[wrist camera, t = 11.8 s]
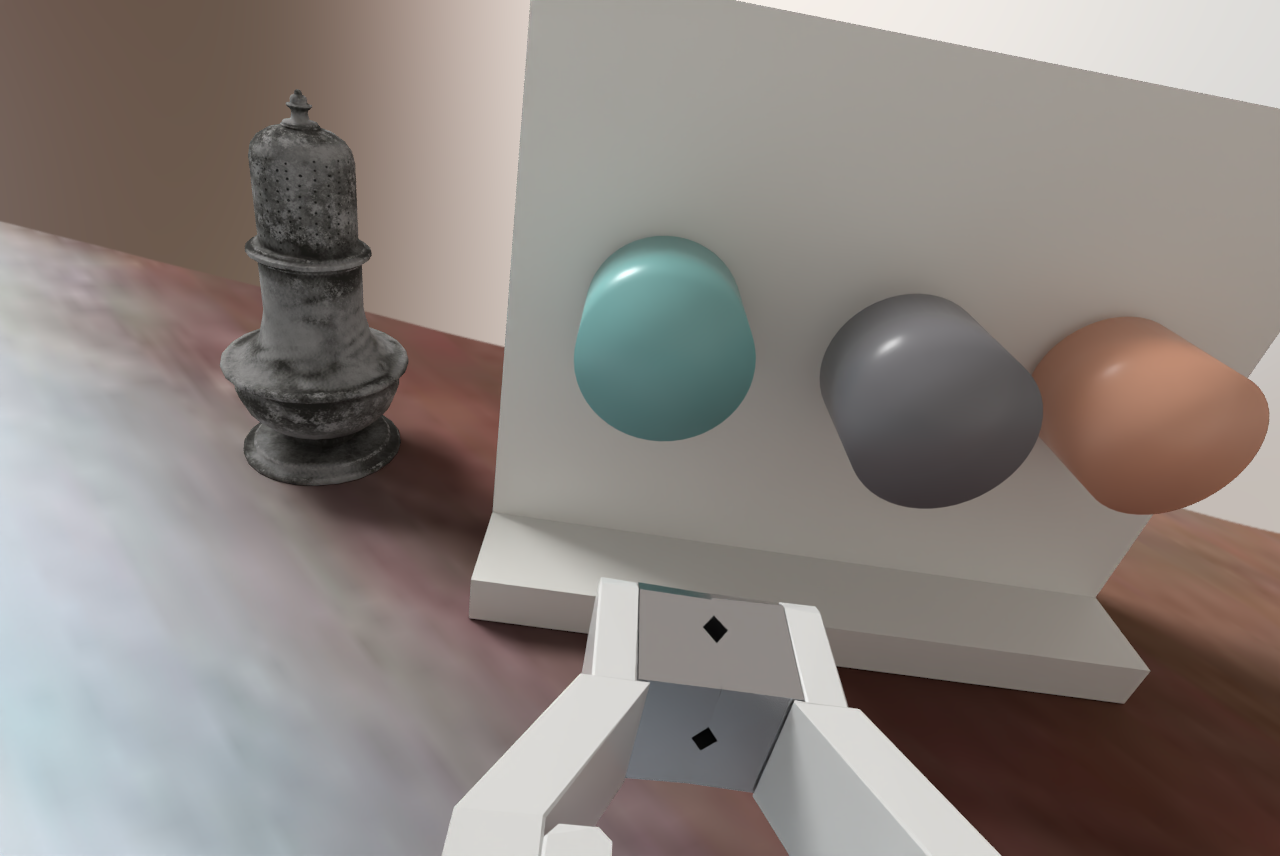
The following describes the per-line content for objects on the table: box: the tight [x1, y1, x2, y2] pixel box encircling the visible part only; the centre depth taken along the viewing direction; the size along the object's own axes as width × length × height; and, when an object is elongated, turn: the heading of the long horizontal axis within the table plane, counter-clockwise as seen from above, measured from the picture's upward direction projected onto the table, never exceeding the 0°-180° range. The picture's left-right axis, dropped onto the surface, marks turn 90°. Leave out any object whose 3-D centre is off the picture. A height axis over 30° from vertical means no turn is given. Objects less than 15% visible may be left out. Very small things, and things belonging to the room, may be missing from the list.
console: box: [469, 0, 1280, 704], centre depth 19 cm, size 20×6×16 cm, turn 89°
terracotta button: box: [1032, 317, 1269, 515], centre depth 17 cm, size 4×3×4 cm
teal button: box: [574, 236, 756, 441], centre depth 17 cm, size 4×3×4 cm
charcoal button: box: [820, 294, 1043, 509], centre depth 16 cm, size 4×3×4 cm
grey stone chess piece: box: [220, 89, 408, 486], centre depth 23 cm, size 6×6×12 cm
